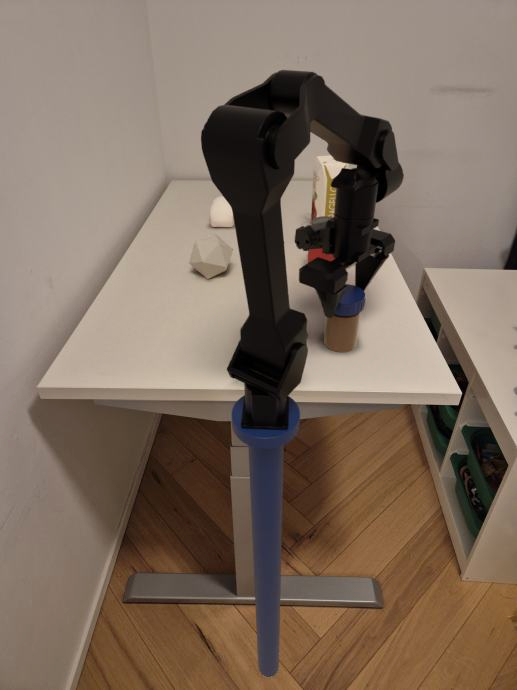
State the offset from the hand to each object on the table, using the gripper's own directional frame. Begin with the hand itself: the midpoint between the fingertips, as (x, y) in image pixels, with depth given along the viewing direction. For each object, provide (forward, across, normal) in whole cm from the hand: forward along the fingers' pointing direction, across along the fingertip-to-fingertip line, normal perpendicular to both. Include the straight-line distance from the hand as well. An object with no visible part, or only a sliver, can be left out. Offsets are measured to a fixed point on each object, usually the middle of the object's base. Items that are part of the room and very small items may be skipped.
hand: (344, 305), depth 77 cm
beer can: (+8, -19, -17) cm, 26 cm away
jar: (+8, 0, 0) cm, 8 cm away
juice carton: (+8, -35, -26) cm, 45 cm away
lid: (-2, 0, 0) cm, 2 cm away
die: (+8, -4, -36) cm, 37 cm away
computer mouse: (+8, -28, -55) cm, 63 cm away
